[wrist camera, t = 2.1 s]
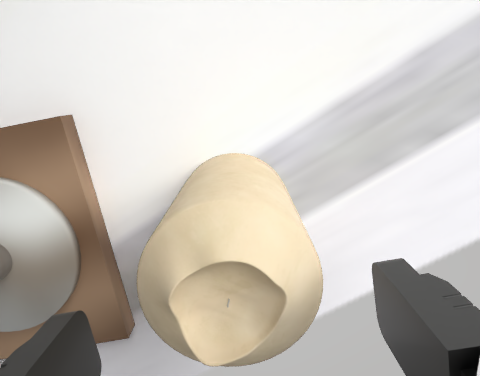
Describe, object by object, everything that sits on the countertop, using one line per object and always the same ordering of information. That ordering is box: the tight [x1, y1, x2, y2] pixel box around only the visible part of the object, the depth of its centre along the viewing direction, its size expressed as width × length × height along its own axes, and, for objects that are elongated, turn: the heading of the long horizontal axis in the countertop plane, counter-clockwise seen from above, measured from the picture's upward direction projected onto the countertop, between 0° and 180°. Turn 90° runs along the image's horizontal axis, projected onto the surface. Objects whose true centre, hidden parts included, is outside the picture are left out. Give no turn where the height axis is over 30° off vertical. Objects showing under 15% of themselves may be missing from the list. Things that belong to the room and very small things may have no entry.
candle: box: [137, 153, 323, 367], centre depth 14 cm, size 6×6×10 cm
